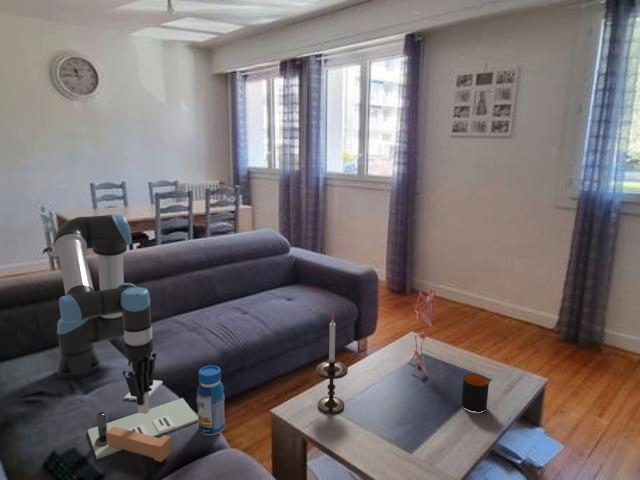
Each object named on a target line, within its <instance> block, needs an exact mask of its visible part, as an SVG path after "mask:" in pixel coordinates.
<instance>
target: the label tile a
mask: <svg viewBox="0 0 640 480" xmlns="http://www.w3.org/2000/svg"><path fill="white" fill-rule="evenodd" d="M127 430H130V431H134V432H137V433H141V434H145V435H148V433H147V431H146V429H145V427H144V425H143V424H141V425H138V426H135V427H132V428H130V429H127Z"/></svg>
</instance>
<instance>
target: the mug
mask: <svg viewBox="0 0 640 480" xmlns="http://www.w3.org/2000/svg"><path fill="white" fill-rule="evenodd" d="M462 380H463V381H462V389H461V391H462V393H461V403H460V405H461V404H462V406H463V407H464V408H466V409H468V410H471V411H476V412H481V411H484V410H486V411H487V407H488V398H489V396H488V395H489V385H490V380H489V379H487V377H486V376H484V375H480V374H476V373H468V374H465V375H464V376H463V379H462ZM462 406H461V407H462Z"/></svg>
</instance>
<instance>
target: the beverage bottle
mask: <svg viewBox="0 0 640 480" xmlns="http://www.w3.org/2000/svg"><path fill="white" fill-rule="evenodd" d="M197 376H198V383H199V384H198V386H197V388H196V389H197V390H196V395H197V396H196V403H197V414H198V415H197V417H198V418H199V421H198V431H199V432H200V433H201V434H202V435H204V436H215V435H218V434H220V433H221V432H222V431H223V430H224V429H225V428H226V420H225V399H226V398H225V393H224V391H225V387H224V385H223V383H222V381H221V380H222V370H221V368H220V367H219V366H217V365H206V366H203V367H201V368H200V369H199V370H198V374H197Z"/></svg>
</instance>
